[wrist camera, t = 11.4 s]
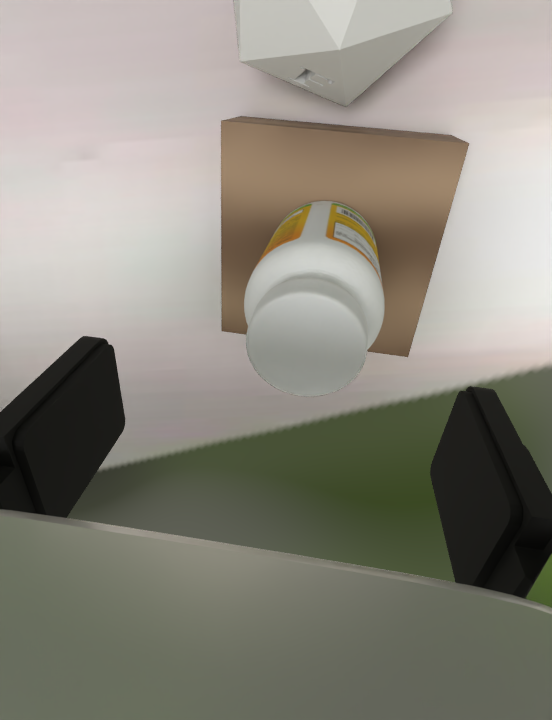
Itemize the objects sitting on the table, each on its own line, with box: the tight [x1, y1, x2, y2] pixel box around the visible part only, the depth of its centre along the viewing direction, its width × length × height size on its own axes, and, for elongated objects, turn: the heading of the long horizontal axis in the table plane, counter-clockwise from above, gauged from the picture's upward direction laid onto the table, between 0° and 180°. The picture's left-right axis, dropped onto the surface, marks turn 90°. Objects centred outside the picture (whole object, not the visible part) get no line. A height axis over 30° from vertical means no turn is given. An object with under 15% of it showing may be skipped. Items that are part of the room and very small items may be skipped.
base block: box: [221, 116, 469, 357], centre depth 23 cm, size 11×11×4 cm
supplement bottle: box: [244, 201, 385, 397], centre depth 18 cm, size 5×5×10 cm
